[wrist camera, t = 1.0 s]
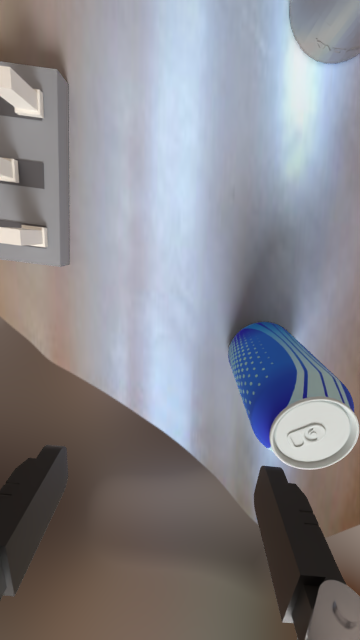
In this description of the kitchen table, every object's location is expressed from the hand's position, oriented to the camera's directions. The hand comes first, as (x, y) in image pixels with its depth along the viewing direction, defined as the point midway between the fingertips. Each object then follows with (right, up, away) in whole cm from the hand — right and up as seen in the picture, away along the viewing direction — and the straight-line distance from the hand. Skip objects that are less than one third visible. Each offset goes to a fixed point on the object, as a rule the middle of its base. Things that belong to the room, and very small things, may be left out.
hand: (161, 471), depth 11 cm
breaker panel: (-17, +22, +18) cm, 33 cm away
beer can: (+11, +2, +24) cm, 27 cm away
